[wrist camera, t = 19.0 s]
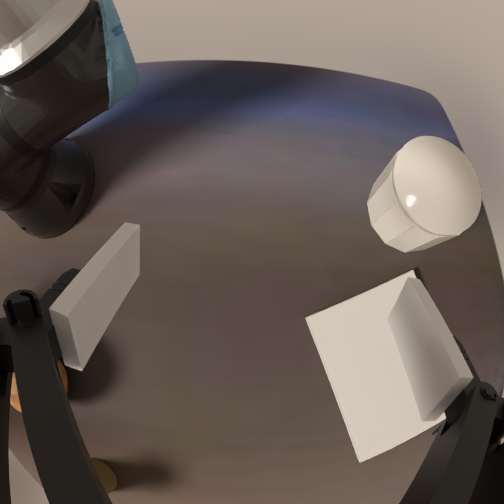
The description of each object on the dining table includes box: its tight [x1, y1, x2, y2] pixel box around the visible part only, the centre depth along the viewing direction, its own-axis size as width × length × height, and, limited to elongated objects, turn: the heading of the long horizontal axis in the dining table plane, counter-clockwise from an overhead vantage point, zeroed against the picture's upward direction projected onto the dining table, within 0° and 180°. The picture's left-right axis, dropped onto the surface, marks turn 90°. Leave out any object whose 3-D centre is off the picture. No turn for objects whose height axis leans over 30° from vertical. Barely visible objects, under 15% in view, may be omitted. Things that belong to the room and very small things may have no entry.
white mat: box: [305, 270, 446, 462], centre depth 34 cm, size 20×14×1 cm
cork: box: [91, 458, 117, 494], centre depth 29 cm, size 6×6×11 cm
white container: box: [367, 136, 482, 252], centre depth 32 cm, size 10×10×10 cm
